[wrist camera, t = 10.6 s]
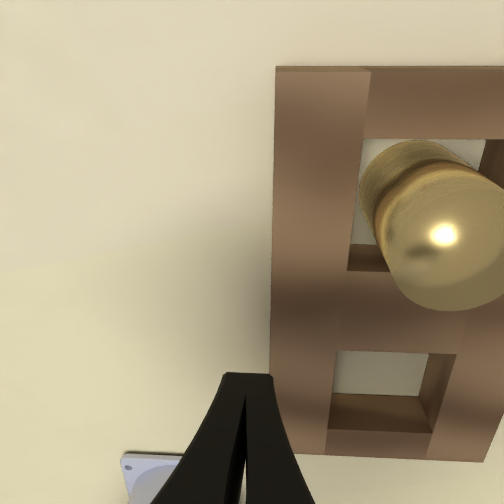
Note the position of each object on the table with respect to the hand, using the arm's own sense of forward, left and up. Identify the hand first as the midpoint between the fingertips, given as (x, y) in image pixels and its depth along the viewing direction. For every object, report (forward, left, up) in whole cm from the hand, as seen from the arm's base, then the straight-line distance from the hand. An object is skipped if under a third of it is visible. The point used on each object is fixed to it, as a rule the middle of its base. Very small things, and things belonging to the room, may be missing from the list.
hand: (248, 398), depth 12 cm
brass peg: (+3, -7, -9) cm, 12 cm away
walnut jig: (-2, -7, -9) cm, 12 cm away
